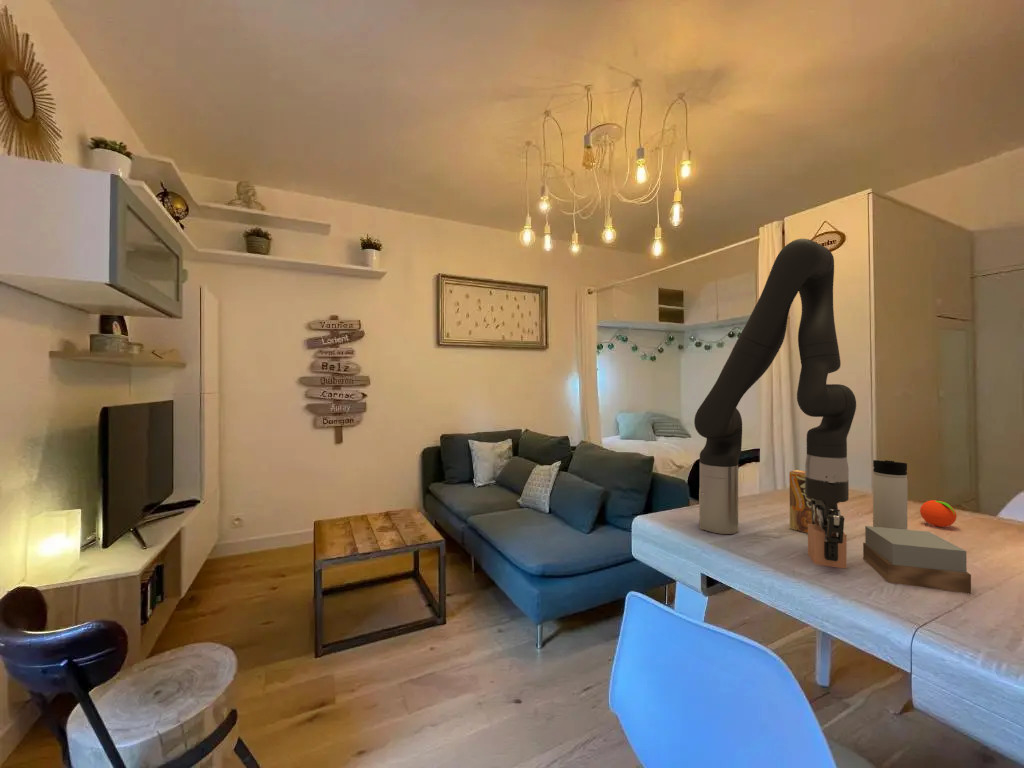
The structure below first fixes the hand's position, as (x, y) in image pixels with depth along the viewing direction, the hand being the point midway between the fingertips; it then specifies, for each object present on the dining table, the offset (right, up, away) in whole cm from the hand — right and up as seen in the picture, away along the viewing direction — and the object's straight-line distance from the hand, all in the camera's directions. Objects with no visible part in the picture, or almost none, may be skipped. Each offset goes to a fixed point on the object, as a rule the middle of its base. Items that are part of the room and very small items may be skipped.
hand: (826, 554), depth 91 cm
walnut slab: (+13, -2, -6) cm, 14 cm away
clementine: (+47, -2, +22) cm, 52 cm away
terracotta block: (0, -2, 0) cm, 2 cm away
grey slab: (+12, +2, -6) cm, 14 cm away
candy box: (+9, -2, +18) cm, 20 cm away
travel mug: (+24, -2, +12) cm, 27 cm away
